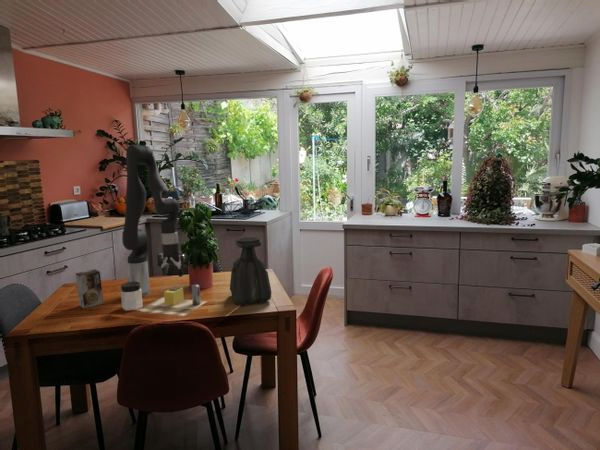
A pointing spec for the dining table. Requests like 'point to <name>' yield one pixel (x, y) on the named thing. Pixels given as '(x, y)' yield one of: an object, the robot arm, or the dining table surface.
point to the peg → (195, 294)
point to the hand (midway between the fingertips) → (173, 275)
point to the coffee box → (89, 288)
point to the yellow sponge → (173, 295)
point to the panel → (171, 307)
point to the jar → (131, 296)
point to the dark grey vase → (249, 275)
